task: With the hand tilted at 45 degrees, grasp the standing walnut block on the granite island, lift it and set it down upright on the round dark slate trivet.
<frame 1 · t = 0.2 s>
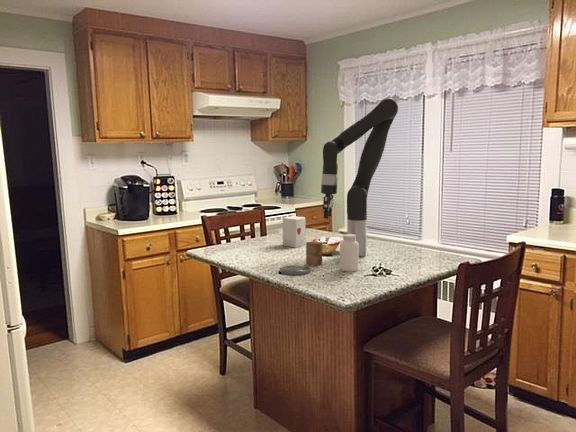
hand: (327, 217, 231), 18 cm above the countertop, tool pointing down, fingers open, 8 cm apart
slate trivet: (295, 271, 201), on the countertop
supplement box: (294, 245, 254), on the countertop
walnut block: (314, 264, 213), on the countertop
pill bottle: (349, 270, 204), on the countertop
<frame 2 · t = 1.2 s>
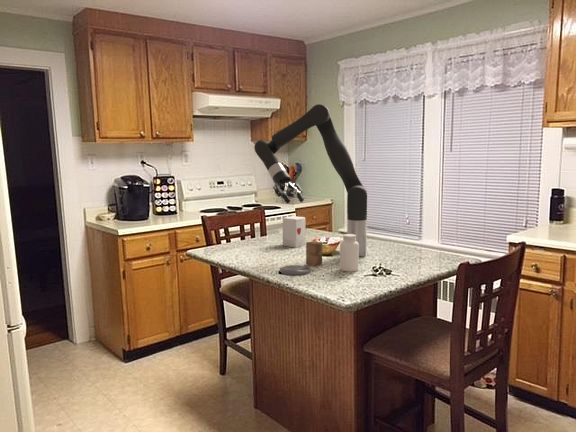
hand: (295, 201, 217), 27 cm above the countertop, tool tilted 45°, fingers open, 8 cm apart
nothing on the countertop moved.
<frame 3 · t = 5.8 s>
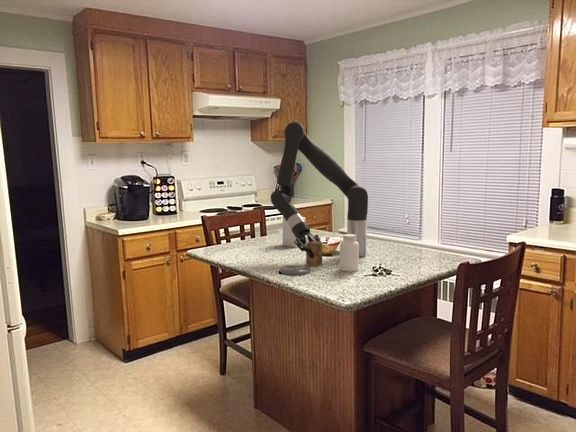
hand: (317, 255, 211), 4 cm above the countertop, tool tilted 45°, fingers closed on walnut block, 5 cm apart
walnut block: (314, 264, 213), on the countertop, touching gripper
everything else where it was.
when the fingers open (7 cm above the countertop, at t = 11.3 s): walnut block drops 1 cm, resting on slate trivet.
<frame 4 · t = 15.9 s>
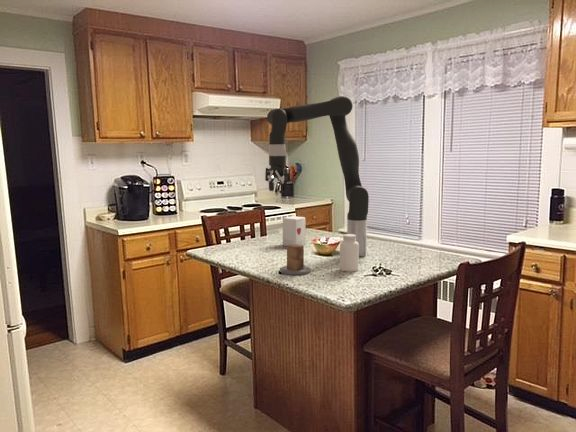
hand: (277, 191, 215), 32 cm above the countertop, tool pointing down, fingers open, 8 cm apart
walnut block: (295, 268, 201), point 1 cm above the countertop, touching slate trivet
everything else where it was.
at the end: walnut block inside the target area on the slate trivet (0.2 cm from its centre), point 1.0 cm above the slate trivet's base; walnut block tilted 0°; the gripper is holding nothing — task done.
